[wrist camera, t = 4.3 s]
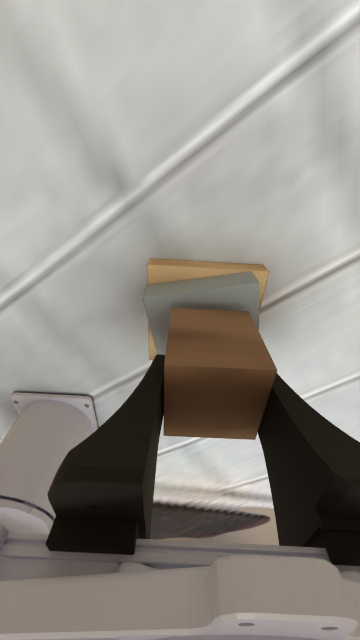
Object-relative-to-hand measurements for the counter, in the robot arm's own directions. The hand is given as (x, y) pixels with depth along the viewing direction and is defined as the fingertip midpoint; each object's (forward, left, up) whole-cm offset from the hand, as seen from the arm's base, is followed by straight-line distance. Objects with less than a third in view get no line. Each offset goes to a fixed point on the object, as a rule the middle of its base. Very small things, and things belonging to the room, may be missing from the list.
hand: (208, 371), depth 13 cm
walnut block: (0, 0, -2) cm, 2 cm away
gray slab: (0, 0, -5) cm, 5 cm away
